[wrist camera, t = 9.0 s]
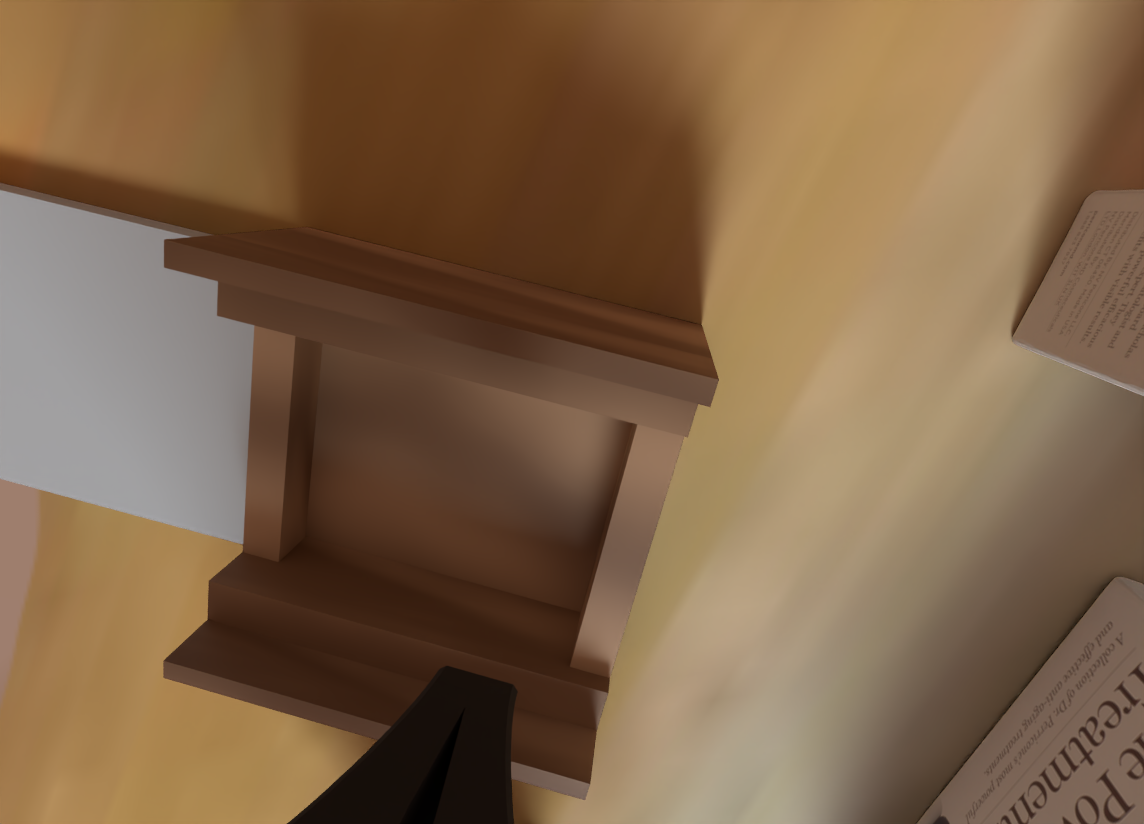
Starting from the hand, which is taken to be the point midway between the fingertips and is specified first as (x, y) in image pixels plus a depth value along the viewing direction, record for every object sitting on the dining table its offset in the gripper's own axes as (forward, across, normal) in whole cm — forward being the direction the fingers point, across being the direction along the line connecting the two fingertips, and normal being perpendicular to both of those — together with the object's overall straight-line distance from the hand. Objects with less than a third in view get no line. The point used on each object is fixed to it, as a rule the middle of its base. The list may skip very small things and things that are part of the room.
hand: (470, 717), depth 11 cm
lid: (+10, +14, 0) cm, 18 cm away
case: (+10, +3, 0) cm, 10 cm away
